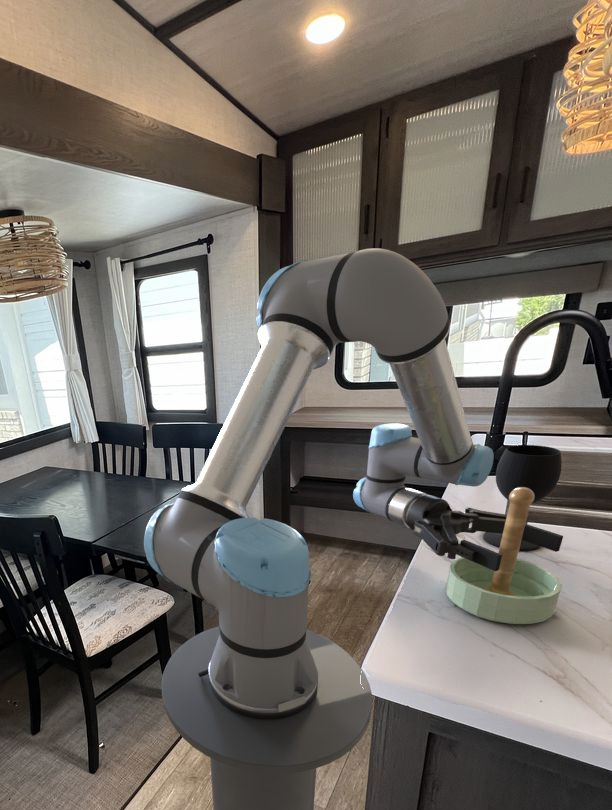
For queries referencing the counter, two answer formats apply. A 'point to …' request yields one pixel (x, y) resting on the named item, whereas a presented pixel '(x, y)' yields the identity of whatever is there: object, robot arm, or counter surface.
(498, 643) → the counter surface
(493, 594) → the bowl
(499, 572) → the wooden pestle
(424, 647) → the counter surface
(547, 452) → the wine glass
